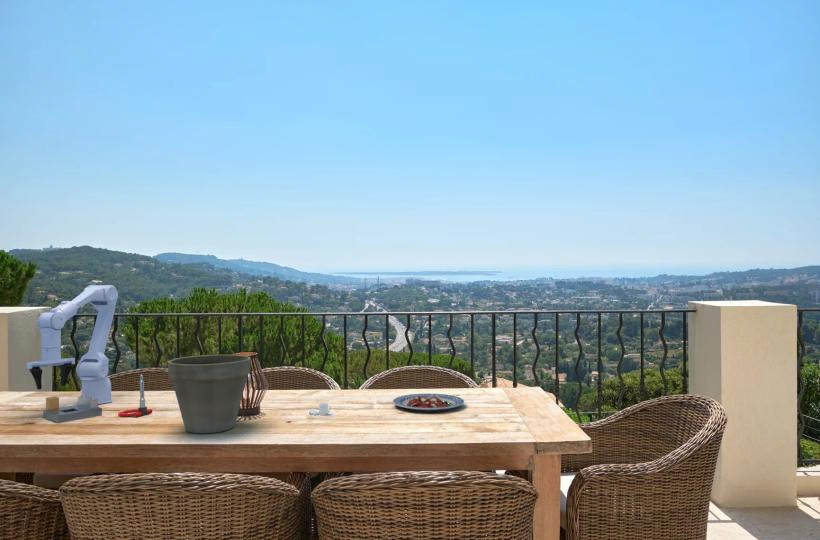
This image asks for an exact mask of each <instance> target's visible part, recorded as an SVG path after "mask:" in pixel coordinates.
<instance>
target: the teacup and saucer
mask: <svg viewBox="0 0 820 540" xmlns="http://www.w3.org/2000/svg"><path fill="white" fill-rule="evenodd" d="M331 409H332V407H331V405H329V403H327V402H320V403H319V404H318V409H316V408H312V409H309V410H308V414H309V415H311V417H314V418H318V415H320V416H319V418H324V416H326V418H331V417H334V416H335V415H336V413H335V412H331ZM328 414H331V415H328ZM327 415H328V416H327Z"/></svg>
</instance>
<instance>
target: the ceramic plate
mask: <svg viewBox="0 0 820 540" xmlns="http://www.w3.org/2000/svg"><path fill="white" fill-rule="evenodd" d="M443 401H444V402H443ZM392 403H393V405H395V406H397V407H401V408H406V409H407V410H410V411H411V410H412V411H416V412H442V411H441V410H443V411H446V409H447V410H450V409H454V408H457V407H461V406H462V405H464V403H465V400H464V399H463V398H461V397H459V396H455V395H451V394H443V393H413V394H412V393H411V394H405V395H404V394H403V395H400V396H398V397H395V398H393V399H392ZM448 403H449V404H448Z"/></svg>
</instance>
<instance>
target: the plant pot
mask: <svg viewBox="0 0 820 540" xmlns="http://www.w3.org/2000/svg"><path fill="white" fill-rule="evenodd" d="M251 364H252V358H251V357H250V356H247V355H242V354H241V355H240V354H207V355H206V354H205V355H204V354H203V355H193V356H190V355H189V356H183V357H178V358H177V357H176V358H173V359H170V360H169V361H167V372H168V373H167V375H168V378H169V379H171V381H172V384H173V389H174V392H175V396H176V397H175V398H176V400H177V404H178V407H179V411H180V416H181V418H182V422H183V426H184V428H185V430H186V431H187V432H188V433H191V434H215V433H222V432H225V431H226V432H227V431H230V430H231V429H233V428H234V427H235V425H236V422H237V418H238V415H239V411H240V407H241V403H242V399H243V396H244V391H245V388H246V383H247V379H248V375H249V374H250V373H251V369H252V365H251Z"/></svg>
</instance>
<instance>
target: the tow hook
mask: <svg viewBox="0 0 820 540" xmlns="http://www.w3.org/2000/svg"><path fill="white" fill-rule="evenodd" d="M152 413H153V409H152V408H148V407H147V406H146V399H145V381H144V375H143V374H140V375H139V407H138V408H135V409H134V408H133V409H125V410H121V411H119V412H118V413H117V416H118V417H121V418H122V417H125V418H126V417H133V418H138V417H143V416H146V415H150V414H152Z"/></svg>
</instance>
